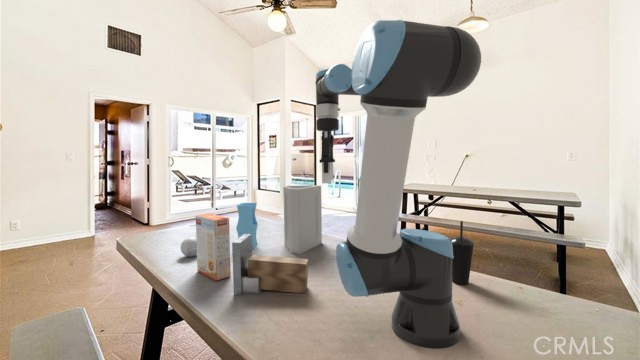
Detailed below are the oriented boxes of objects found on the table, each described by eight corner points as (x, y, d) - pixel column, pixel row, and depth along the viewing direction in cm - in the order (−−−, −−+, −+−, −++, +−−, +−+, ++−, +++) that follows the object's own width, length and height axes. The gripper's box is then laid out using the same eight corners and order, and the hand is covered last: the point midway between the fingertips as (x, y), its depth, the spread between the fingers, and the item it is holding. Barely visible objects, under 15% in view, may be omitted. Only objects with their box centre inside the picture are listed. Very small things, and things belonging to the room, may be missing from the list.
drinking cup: (472, 289, 89) (474, 225, 88) (445, 283, 93) (446, 222, 92) (474, 280, 96) (476, 220, 94) (449, 275, 100) (450, 218, 99)
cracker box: (232, 276, 101) (230, 217, 100) (215, 282, 97) (213, 220, 95) (212, 267, 111) (210, 212, 109) (197, 271, 106) (194, 214, 105)
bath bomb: (203, 256, 123) (202, 238, 122) (182, 260, 118) (181, 241, 118) (199, 252, 129) (198, 234, 129) (179, 255, 125) (178, 237, 124)
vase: (254, 248, 134) (252, 205, 132) (237, 248, 134) (235, 205, 132) (258, 243, 141) (256, 202, 140) (241, 243, 142) (240, 202, 140)
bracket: (257, 295, 87) (256, 243, 86) (233, 294, 88) (232, 242, 86) (267, 281, 97) (266, 234, 96) (245, 281, 97) (244, 234, 96)
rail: (307, 286, 92) (308, 259, 92) (305, 293, 88) (306, 264, 87) (252, 281, 94) (253, 254, 94) (247, 288, 90) (248, 259, 89)
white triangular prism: (297, 238, 149) (296, 184, 147) (322, 242, 141) (321, 185, 139) (273, 248, 133) (271, 187, 131) (300, 254, 125) (298, 189, 123)
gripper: (336, 112, 85) (337, 184, 86) (340, 123, 110) (340, 179, 111) (311, 113, 86) (312, 184, 87) (320, 123, 110) (321, 179, 112)
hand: (328, 181), depth 99 cm, fingers open, 13 cm apart
